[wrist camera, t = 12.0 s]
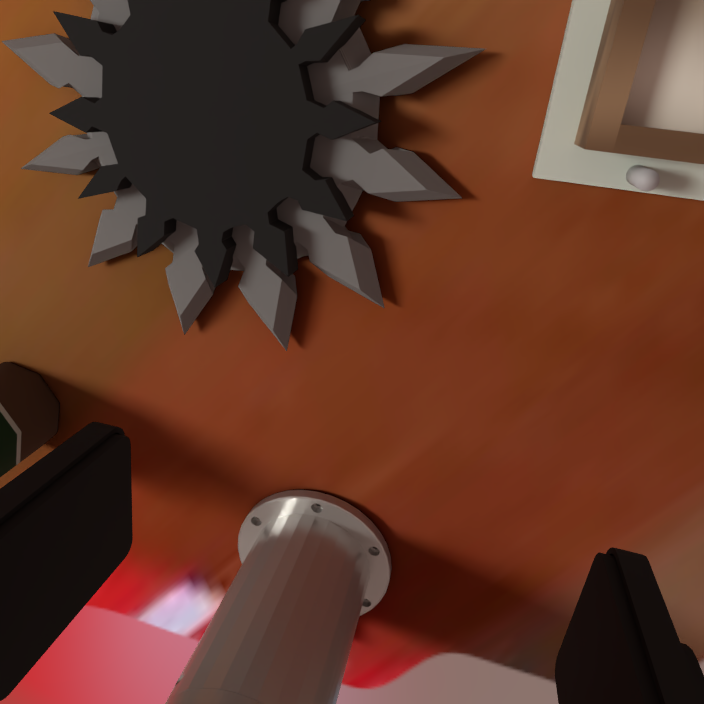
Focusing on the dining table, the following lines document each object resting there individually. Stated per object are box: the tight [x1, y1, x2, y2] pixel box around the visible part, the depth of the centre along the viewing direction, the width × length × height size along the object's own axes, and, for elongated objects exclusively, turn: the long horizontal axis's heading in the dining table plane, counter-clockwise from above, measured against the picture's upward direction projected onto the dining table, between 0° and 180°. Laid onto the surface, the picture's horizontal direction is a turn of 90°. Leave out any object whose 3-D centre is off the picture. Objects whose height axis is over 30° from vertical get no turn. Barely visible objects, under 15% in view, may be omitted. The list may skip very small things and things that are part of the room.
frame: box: [574, 0, 704, 164], centre depth 24 cm, size 12×6×4 cm, turn 174°
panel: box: [532, 0, 704, 201], centre depth 25 cm, size 16×10×4 cm, turn 174°
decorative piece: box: [2, 0, 485, 351], centre depth 32 cm, size 30×4×30 cm
